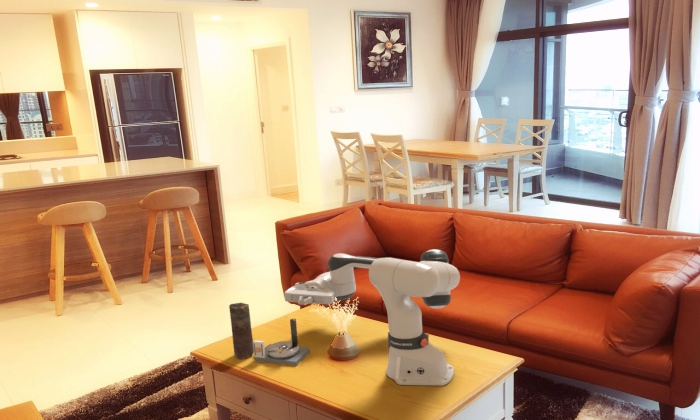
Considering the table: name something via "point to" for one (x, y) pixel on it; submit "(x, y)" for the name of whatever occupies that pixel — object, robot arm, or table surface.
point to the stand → (262, 356)
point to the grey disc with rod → (285, 345)
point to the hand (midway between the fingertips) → (301, 302)
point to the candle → (241, 330)
